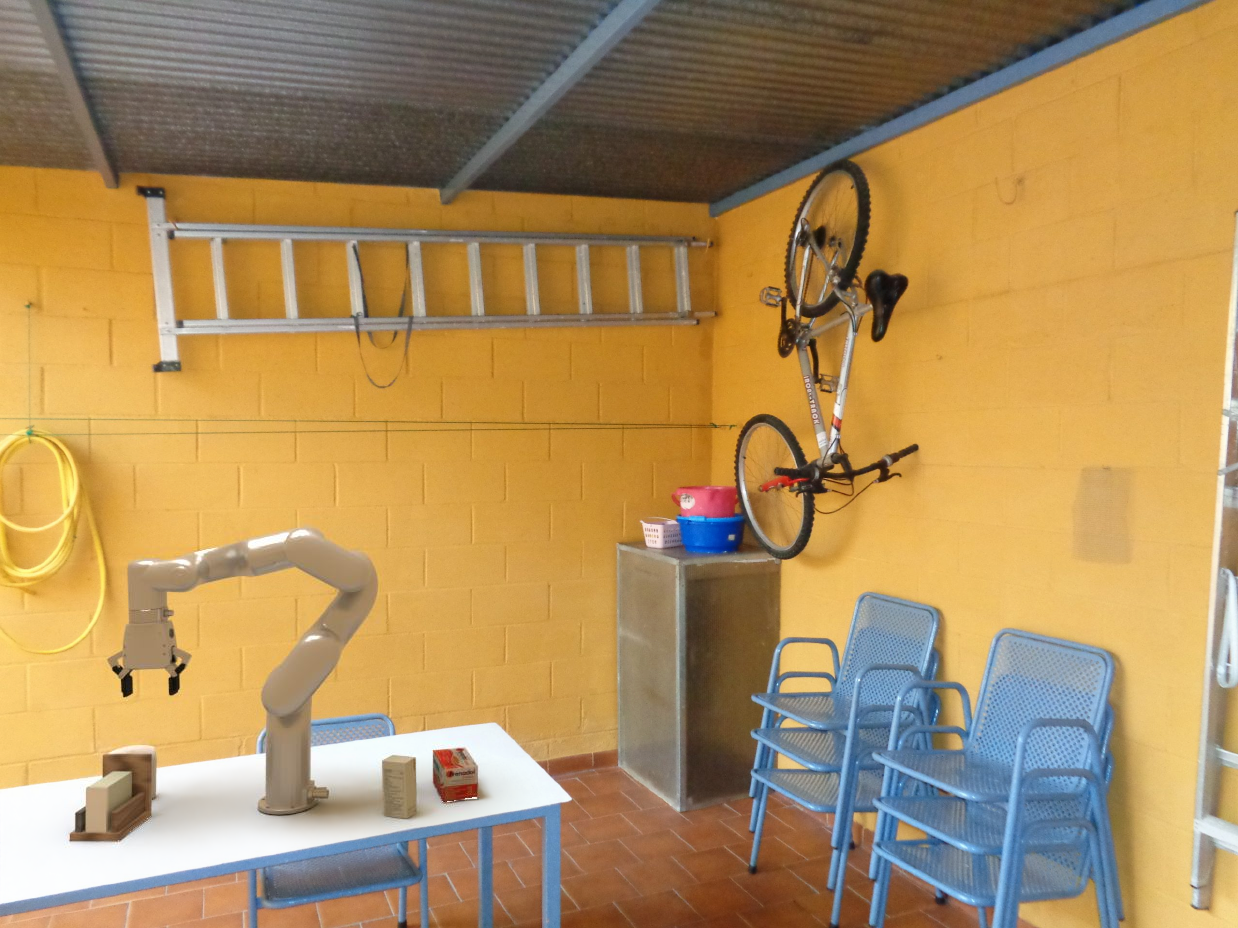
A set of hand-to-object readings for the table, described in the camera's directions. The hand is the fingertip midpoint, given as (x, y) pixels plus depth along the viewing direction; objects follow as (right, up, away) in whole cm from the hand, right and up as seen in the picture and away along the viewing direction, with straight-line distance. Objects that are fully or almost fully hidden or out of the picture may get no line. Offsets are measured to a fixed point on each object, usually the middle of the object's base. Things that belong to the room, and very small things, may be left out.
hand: (150, 694), depth 200 cm
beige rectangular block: (-5, -25, -8) cm, 26 cm away
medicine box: (+63, -27, +17) cm, 70 cm away
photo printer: (-9, -26, +8) cm, 29 cm away
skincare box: (+53, -27, +2) cm, 60 cm away
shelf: (-5, -26, -7) cm, 27 cm away
